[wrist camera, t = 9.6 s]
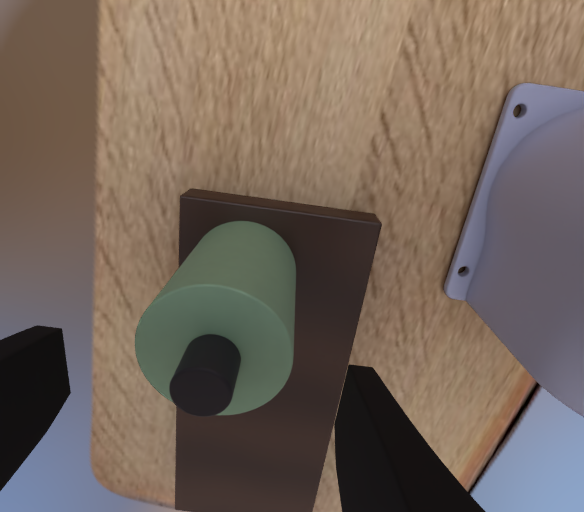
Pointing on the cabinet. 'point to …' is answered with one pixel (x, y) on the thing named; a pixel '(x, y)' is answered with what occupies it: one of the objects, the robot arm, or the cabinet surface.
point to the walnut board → (305, 370)
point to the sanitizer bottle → (223, 323)
